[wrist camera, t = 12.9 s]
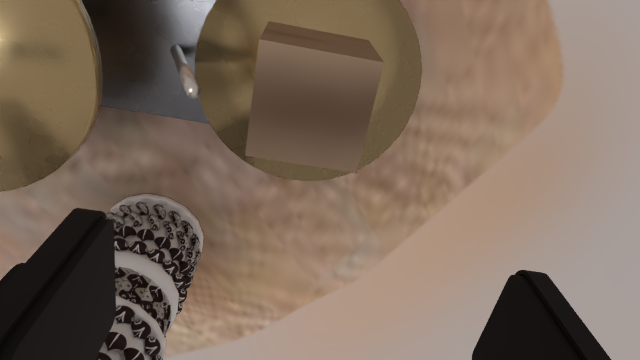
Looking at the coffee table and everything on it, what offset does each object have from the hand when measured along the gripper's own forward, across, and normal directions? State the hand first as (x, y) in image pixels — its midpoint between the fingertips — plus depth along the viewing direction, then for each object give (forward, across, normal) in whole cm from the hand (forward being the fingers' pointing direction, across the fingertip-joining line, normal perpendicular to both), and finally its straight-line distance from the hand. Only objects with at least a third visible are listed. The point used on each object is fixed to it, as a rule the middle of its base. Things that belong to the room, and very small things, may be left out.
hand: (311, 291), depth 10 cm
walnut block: (+19, 0, 0) cm, 19 cm away
